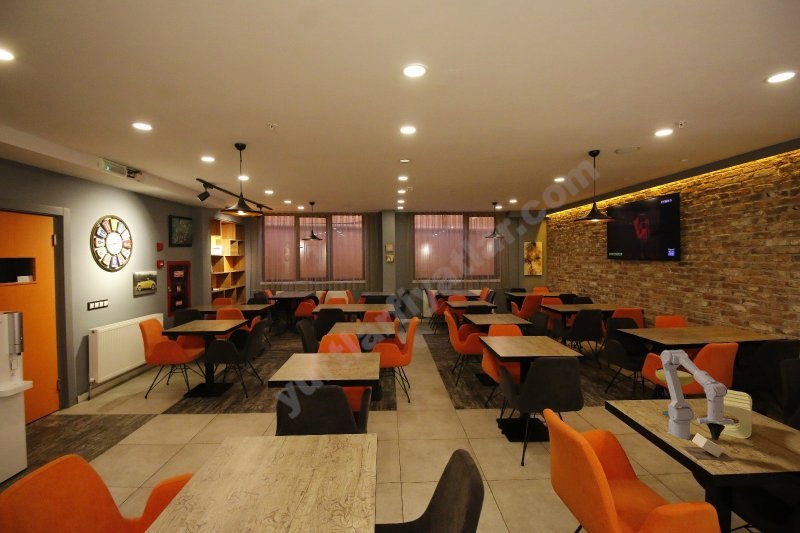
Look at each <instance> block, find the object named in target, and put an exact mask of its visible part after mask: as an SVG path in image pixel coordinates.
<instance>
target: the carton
mask: <svg viewBox="0 0 800 533" xmlns="http://www.w3.org/2000/svg"><path fill="white" fill-rule="evenodd" d="M691 441H692V442H693V443H694V444H695V445H697V447H701V448H703V449H704V450H706V451H708V452H709V453H711V454H713V455H715V456H716V457H719V456H720V454H721V453H722V452H724V448H723V447H722V446H719V444H717V443H715V442H713V441H712V440H710V439H709V438H707V437H705V436H704V435H702V434H700V433H698V432H697V433H696V434H695V436H694V437H693V439H692V440H691Z"/></svg>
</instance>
